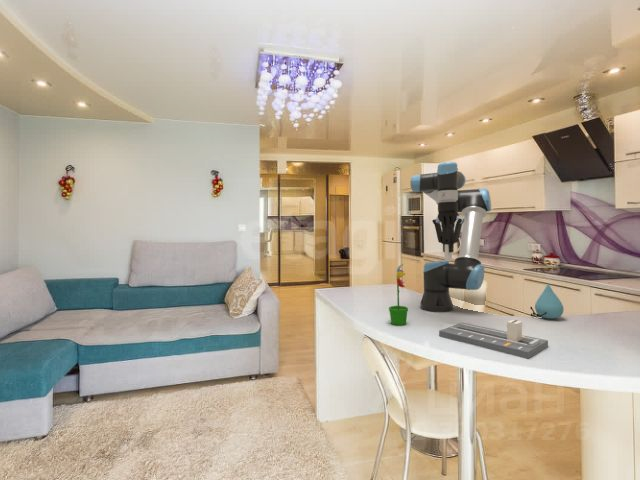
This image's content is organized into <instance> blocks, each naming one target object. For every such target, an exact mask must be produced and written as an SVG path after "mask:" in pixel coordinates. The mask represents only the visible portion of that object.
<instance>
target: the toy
mask: <svg viewBox="0 0 640 480" xmlns="http://www.w3.org/2000/svg"><path fill="white" fill-rule="evenodd" d="M534 309H535V310H534ZM530 310H532V312H531V313H530V317H536V318H543V319H547V320H554V319H560V317H562V315H563V314H564V305H563V303H562V301H561V300H560V298H559V296H557V294H556V293H555V292H554V290H553V288H552V287H551V285H550V284H549V283H547V284H546V286H545V288H544V290H543V291H542V292H541V294H540V295H539V297H538V299H537V300H536V302H535V305H534V308H533V307H532V306H530Z"/></svg>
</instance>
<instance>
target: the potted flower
mask: <svg viewBox="0 0 640 480" xmlns="http://www.w3.org/2000/svg"><path fill="white" fill-rule="evenodd" d="M403 265H404V263H401V264H400V265H399V266H397V270H396V273H395V274H396V288H397V289H396V293H397V294H396V295H397V298H396V299H397V301H396V303H397V305H391V306H389V307H388V312H389V316H390V317H389V318H390V323H391V325H394V326H405V325H406V324H407V318H408V311H409V307H407V306H405V305H400V288H405V285H404V284H405V282H404V281H403V280H402V279H401V278H402V277H404V276H405V275H406V273H405V272H404V271H403V270H402V269H401V267H402V266H403ZM399 287H400V288H399Z"/></svg>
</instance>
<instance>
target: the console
mask: <svg viewBox="0 0 640 480" xmlns="http://www.w3.org/2000/svg"><path fill="white" fill-rule="evenodd" d="M438 334H439V335H438V336H439V337H441V338H445V339H448V340H449V339H450V340H453V341H457V342H461V343H465V344H468V345H473V346H477V347H480V348H484V349H489V350H493V351H497V352H500V353H504V354H508V355H511V354H512V355H513V356H516V357H520V358H523V359H527V360H529V359H530V358H532V357H534V356H535V355H536V354H539V353H540V352H541V351H543V350H545V349H546V348H548V347H549V340H548V339H543V338H540V337H535V336H534V337H533V336H528V335H523V334H522V340H520V341H518V342H516V341H511V340H507V331H504V330H500V329H495V328H490V327H486V326H480V325H475V324H471V323H467V322H459V323H457V324H454V325H452V326H448V327H445V328H443V329H440V330H438Z"/></svg>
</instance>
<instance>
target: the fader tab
mask: <svg viewBox="0 0 640 480" xmlns="http://www.w3.org/2000/svg"><path fill="white" fill-rule="evenodd" d="M506 332H507V340H511V341H516V342H518V341H520V340H522V335H523V322H522V321H521V320H518V319H517V320H516V319H515V320H514V319H511V320H508V321H506Z"/></svg>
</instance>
